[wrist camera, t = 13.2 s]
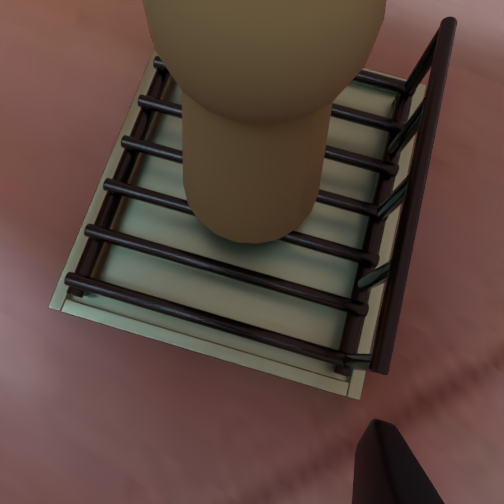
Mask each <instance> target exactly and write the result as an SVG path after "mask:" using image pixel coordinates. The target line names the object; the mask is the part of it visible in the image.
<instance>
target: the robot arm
mask: <svg viewBox="0 0 504 504" xmlns="http://www.w3.org/2000/svg"><path fill="white" fill-rule="evenodd" d="M352 504H444V502H443V500H442V499H441V497H440V496H439V494H438V492H437V491H436V489H435V488H434V486H433V484H432V483H431V481H430V480H429V478H428V476H427V475H426V473H425V472H424V470H423V468H422V467H421V465H420V464H419V462H418V460H417V459H416V457H415V456H414V454H413V453H412V451H411V449H410V448H409V446H408V445H407V443H406V441H405V440H404V438H403V437H402V435H401V433H400V432H399V430H398V429H397V427H396V426H395V425H394V424H392V423H389V422H385V421H382V420H379V419H373V420H372V421H371V422H370V423H369V425H368V427H367V429H366V430H365V432H364V434H363V436H362V437H361V439H360V441H359V443H358V445H357V448H356V452H355V464H354V480H353V496H352Z"/></svg>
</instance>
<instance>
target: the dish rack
mask: <svg viewBox="0 0 504 504" xmlns="http://www.w3.org/2000/svg"><path fill="white" fill-rule="evenodd" d="M456 26H457V20H456V19H455V18H454V17H446V18H444V19H443V20H442V21H441V23H440V27H439V29H438V30H437V32H436V33H435V35H434V37H433V38H432V40H431V42H430V43H429V45H428V47H427V48H426V50H425V51H424V53H423V55H422V56H421V58H420V60H419V61H418V63H417V64H416V66H415V68H414V69H413V71H412V73H411V74H410V76H409V77H408V79H403V78H400V77H396V76H392V75H388V74H384V73H381V72H377V71H373V70H369V69H366V68H363V69H362V70H361V71H360V72H359V73H358V74H357V75H356V77H355V78H354V79H353V80H352V81H351V82H350V83H349V84H348V85H347V87H346V88H345V89H344V90H343V91H342V92H341V93H340V94H339V95H338V96H337V98H336V99H335V100H334V101H333V103H332V110H331V116H330V122H329V129H328V135H327V142H326V148H325V155H324V161H323V168H322V174H321V181H320V187H319V193H318V196H317V198H316V201H315V204H314V206H313V209H312V211H311V213H310V214H309V215H308V216H307V217H306V219H305V220H304V221H303V222H302V223H301V225H300V226H299V227H298V228H296V229H295V230H293V231H292V232H290V233H288V234H287V235H285V236H283V237H282V238H280V239H276V240H272V241H268V242H264V243H260V244H253V243H239V242H234V241H231V240H229V239H226V238H224V237H221V236H219V235H216V234H215V233H213V232H212V231H211V230H210V229H208V228H207V227H206V226H205V225H204V224H202V223H201V222H200V221H199V220H198V219H197V217H196V216H195V214H194V212H193V211H192V209H191V208H190V206H189V204H188V203H187V199H186V194H185V190H184V185H183V150H182V90H181V88H180V87H179V85H178V84H177V83H176V81H175V80H174V78H173V77H172V75H171V74H170V72H169V71H168V69H167V68H166V66H165V65H164V63H163V62H162V60H161V59H160V57H159V56H158V54H157V53H156V51H155V48H154V50H153V53H152V55H151V58H150V60H149V63H148V65H147V67H146V70H145V72H144V75H143V77H142V80H141V82H140V84H139V87H138V89H137V92H136V94H135V97H134V99H133V101H132V104H131V106H130V109H129V111H128V114H127V116H126V118H125V121H124V123H123V126H122V128H121V131H120V133H119V135H118V138H117V140H116V143H115V145H114V148H113V150H112V152H111V155H110V157H109V160H108V162H107V165H106V167H105V169H104V172H103V174H102V177H101V179H100V182H99V184H98V186H97V189H96V191H95V194H94V196H93V199H92V201H91V203H90V206H89V208H88V211H87V213H86V216H85V218H84V220H83V223H82V225H81V228H80V230H79V233H78V235H77V237H76V240H75V242H74V245H73V247H72V250H71V252H70V254H69V257H68V259H67V262H66V264H65V267H64V269H63V271H62V274H61V276H60V279H59V281H58V284H57V286H56V288H55V291H54V293H53V296H52V298H51V301H50V303H49V305H48V308H50V309H54V310H57V311H61V312H64V313H67V314H70V315H74V316H77V317H80V318H84V319H87V320H90V321H94V322H97V323H100V324H104V325H107V326H110V327H114V328H117V329H120V330H124V331H127V332H131V333H134V334H137V335H141V336H144V337H147V338H151V339H154V340H157V341H161V342H164V343H167V344H171V345H174V346H177V347H181V348H184V349H187V350H191V351H194V352H198V353H201V354H204V355H208V356H211V357H214V358H218V359H221V360H224V361H228V362H231V363H234V364H238V365H241V366H244V367H248V368H251V369H254V370H258V371H261V372H265V373H268V374H271V375H275V376H278V377H281V378H285V379H288V380H291V381H295V382H298V383H301V384H305V385H308V386H311V387H315V388H318V389H321V390H325V391H328V392H332V393H335V394H338V395H342V396H346V397H348V398H352V399H355V400H360V398H361V393H362V388H363V384H364V379H365V374H366V371H367V372H374V373H378V374H382V375H388V372H389V367H390V362H391V357H392V352H393V347H394V342H395V337H396V332H397V327H398V321H399V316H400V311H401V306H402V301H403V296H404V291H405V286H406V281H407V276H408V271H409V265H410V260H411V255H412V250H413V245H414V240H415V235H416V230H417V225H418V220H419V215H420V209H421V204H422V199H423V194H424V189H425V184H426V179H427V174H428V169H429V164H430V158H431V153H432V148H433V143H434V138H435V133H436V128H437V123H438V118H439V113H440V108H441V102H442V97H443V92H444V87H445V82H446V77H447V72H448V67H449V62H450V57H451V52H452V46H453V41H454V36H455V31H456ZM431 66H432V67H431ZM430 68H431V71H430V76H429V81H428V86H427V90H426V95H425V98H424V99H423V97H424V93H425V88H426V85H425V84H421V81H422V80H423V78H424V77H425V75H426V74H427V72H428V71H429V69H430ZM417 132H418V134H417V138H416V143H415V148H414V153H413V158H412V162H411V167H410V172H409V175H408V176H407V174H408V169H409V164H410V159H411V155H412V150H413V145H414V140H415V136H416V133H417ZM402 203H403V206H402V210H401V215H400V220H399V225H398V230H397V234H396V239H395V244H394V249H393V254H392V258H391V260H390V255H391V250H392V245H393V241H394V236H395V231H396V226H397V221H398V217H399V212H400V207H401V204H402ZM389 260H390V261H389ZM385 282H386V287H385V292H384V297H383V302H382V306H381V311H380V316H379V321H378V326H377V330H376V335H375V340H374V345H373V350H372V354H370V350H371V345H372V341H373V336H374V331H375V326H376V322H377V317H378V312H379V307H380V303H381V298H382V293H383V288H384V283H385Z"/></svg>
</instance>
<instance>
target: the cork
mask: <svg viewBox="0 0 504 504" xmlns="http://www.w3.org/2000/svg"><path fill="white" fill-rule="evenodd" d="M142 1H143V5H144V9H145V14H146V18H147V22H148V27H149V31H150V34H151V38H152V41H153V44H154V48H155V51H156V53H157V54H158V56H159V57H160V59H161V60H162V62H163V63H164V65H165V66H166V68H167V69H168V71H169V72H170V74H171V75H172V77H173V78H174V80H175V81H176V83H177V84H178V85H179V87H180V88H181V90H182V150H183V185H184V190H185V194H186V199H187V203H188V204H189V206H190V208H191V209H192V211H193V212H194V214H195V216H196V217H197V219H198V220H199V221H200V222H201V223H202V224H204V225H205V226H206V227H207V228H208V229H210V230H211V231H212V232H213V233H215V234H216V235H219V236H221V237H224V238H226V239H229V240H231V241H234V242H239V243H253V244H260V243H264V242H268V241H272V240H276V239H280V238H282V237H283V236H285V235H287V234H288V233H290V232H292V231H293V230H295V229H296V228H298V227H299V226H300V225H301V223H302V222H303V221H304V220H305V219H306V217H307V216H308V215H309V214H310V213H311V211H312V209H313V206H314V204H315V201H316V198H317V196H318V193H319V187H320V181H321V174H322V168H323V161H324V155H325V148H326V142H327V135H328V129H329V122H330V116H331V110H332V103H333V101H334V100H335V99H336V98H337V96H338V95H339V94H340V93H341V92H342V91H343V90H344V89H345V88H346V87H347V85H348V84H349V83H350V82H351V81H352V80H353V79H354V78H355V77H356V75H357V74H358V73H359V72H360V71H361V70H362V69H363V68H364V66H365V63H366V61H367V59H368V57H369V55H370V53H371V50H372V48H373V46H374V43H375V40H376V38H377V35H378V33H379V30H380V27H381V25H382V22H383V20H384V14H385V6H386V0H142Z"/></svg>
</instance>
